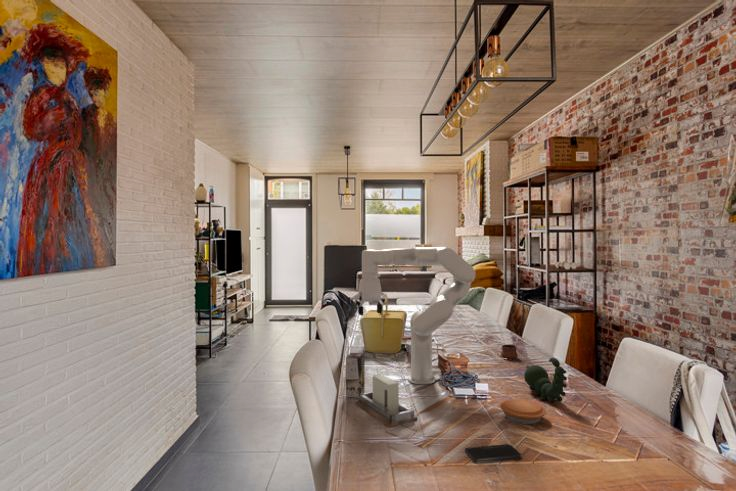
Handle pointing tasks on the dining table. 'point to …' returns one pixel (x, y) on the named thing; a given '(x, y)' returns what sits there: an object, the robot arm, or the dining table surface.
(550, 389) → the toy figurine
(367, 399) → the grey rectangular tray
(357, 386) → the coffee box
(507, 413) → the pie
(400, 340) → the picnic basket
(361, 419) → the dining table surface
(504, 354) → the ceramic pot
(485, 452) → the phone
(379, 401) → the pale green block
